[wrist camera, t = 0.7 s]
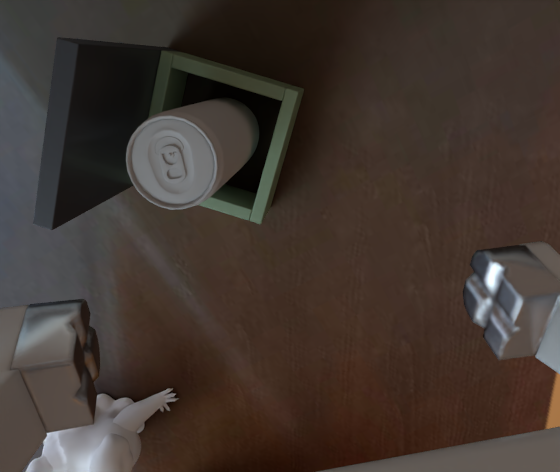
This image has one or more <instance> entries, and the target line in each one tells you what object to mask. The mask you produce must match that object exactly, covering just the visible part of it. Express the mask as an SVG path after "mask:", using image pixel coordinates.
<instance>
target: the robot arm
mask: <svg viewBox="0 0 560 472" xmlns="http://www.w3.org/2000/svg"><path fill="white" fill-rule="evenodd" d="M470 266H471V267H472V269H473V271H474V272H473V273H472V274H471V276H470V277H469V278H468V279H467V280H466V281H465V285H464V289H463V299H464V305H465V308H466V311H467V313H468V315H469V316H470V318H471V320H472V321H473V322H474V323H476V324H478V325H480V326H481V327H483V328H484V334H483V338H484V339H485V341H486V342H487V343H488V345H489V346H490V348H491V349H492V351H493V352H494V354H495V355H496V357H497V358H498V360H503V359H510V358H518V357H526V356H533V355H536V358H537V359H539V360H540V361H542V362H543V363H545V364H546V365H548V366H549V367H550V368H552V369H553V370H555V371H556V372H558V373H559V374H560V255H559V254H558V253H557V252H556V251H555V250H554V249H553V248H552V247H551V246H550V245H549V244H547V243H545V242H542V241H539V242H532V243H525V244H520V245H514V246H506V247H498V248H491V249H483V250H477V251H476V252H475V253H474V255H473V256H472V260H471V263H470ZM89 321H90V311H89V308H88V305H87V302H86V301H85V300H84V299H77V300H68V301H58V302H48V303H38V304H30V305H23V306H13V307H3V308H1V309H0V472H22V470H23V469H24V467H25V466H26V465H27V463H28V462H29V460H30V459H31V458H32V456H33V455H34V454H35V452H36V451H37V449H38V448H39V447H40V445H41V444H42V442H43V441H44V440H45V438H46V437H47V433H50V432H56V431H61V430H66V429H72V428H77V427H82V426H88V425H93V424H94V419H95V410H96V401H97V393H96V390H95V387H94V383H93V382H94V381H95V380H96V379H97V378H98V377H99V370H100V352H99V344H98V338H97V335H96V331H95V329H93V328H92V327H90V326H89ZM317 472H560V427H556V428H551V429H545V430H539V431H534V432H528V433H523V434H518V435H512V436H507V437H502V438H496V439H491V440H485V441H480V442H475V443H469V444H464V445H458V446H453V447H448V448H442V449H437V450H431V451H426V452H421V453H415V454H410V455H404V456H399V457H393V458H388V459H382V460H377V461H371V462H366V463H360V464H355V465H350V466H344V467H339V468H333V469H328V470H322V471H317Z"/></svg>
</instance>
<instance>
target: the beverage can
mask: <svg viewBox="0 0 560 472" xmlns="http://www.w3.org/2000/svg"><path fill="white" fill-rule="evenodd" d="M258 141H259V125H258V122H257V119H256V117H255V116H254V114H253V113H252V111H251V110H250V109H249V108H248V107H247V106H246V105H245V104H243V103H241V102H239V101H237V100H235V99H231V98H215V99H211V100H207V101H204V102H200V103H196V104H192V105H188V106H184V107H180V108H176V109H172V110H168V111H164V112H161V113H158V114H155V115H153V116H151V117H150V118H148V119H147V120H146V121H144V122H143V123H142V124H141V125H140V126H139V127H138V128H137V129H136V131H135V132H134V133H133V135H132V136H131V138H130V141H129V143H128V146H127V152H126V164H127V171H128V174H129V176H130V179H131V181H132V183H133V185H134V186H135V187H136V189H137V190H138V192H139V193H140V194H141V195H142V196H144V197H145V198H146V199H147V200H148V201H150V202H152V203H154V204H155V205H157V206H159V207H163V208H168V209H185V208H189V207H193V206H196V205H199V204H201V203H202V202H204V201H205V200H207V199H208V198H210V197H211V196H212V195H213V194H214V193H215V192H216V191H217V190H218V189H219V188H221V187H222V186H223V185H224V184H225V183H226V182H227V181H228V180H229V179H230V178H231V177H232V176H233V175H234V174H235V173H236V172H237V171H239V170H240V169H241V168H242V167H243V166H244V165H245V164H246V163H247V162H248V160H249V159H250V158H251V157H252V156H253V154H254V152H255V150H256V148H257V145H258Z"/></svg>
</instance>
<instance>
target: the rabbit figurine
mask: <svg viewBox="0 0 560 472" xmlns="http://www.w3.org/2000/svg"><path fill="white" fill-rule="evenodd" d="M171 390H173V388H172V389H170V388H168V389H166V390H164V391H162V392H160V393H157V394H155V395H152V396H150V397H148V398H146V399H144V400H141V401H138V402H136V403H134V402H133V401H132V400H131V399H130V398H126V397H125V398H120V399H118V400H114V399H112V398H111V397H110V396H108V395H107V394H99V395H97V401H96V410H95V419H94V424H93V425H88V426H82V427H77V428H72V429H66V430H61V431H56V432H50V433H47V437H46V438H45V440H44V441H43V443H44V448H43V452H42V456H41V457H40V458H36V459H34V460H33V461H32V462H31V463H30V464H29V466H28V468H27V470H26V472H131V471H132V468H133V465H134V464H135V463H136V461H137V460H138V458H139V456H140V452H141V441H140V438H139V435H138V433H140V432H141V431H142V430H143V429H144V426H145V424H144V422H145V421H146V420H147V419H148V418H149V417H150V416H151V415H152V414H154V413H155V412H156V411H157V410H158V409H159V408H160V411H162V412H163V410H164V408H163V406H164V407H165V408H166V410H169V409H170V408H169V407H168V405H167V404H166V403H167V402H171V401H176V400H178V399H179V398H175V397H174V396H175V395H176V393H175V394H174V393H170V394H167V393H169V392H170V391H171ZM165 394H166V395H165ZM170 397H173V398H170ZM169 411H170V410H169Z"/></svg>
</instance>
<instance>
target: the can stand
mask: <svg viewBox="0 0 560 472" xmlns="http://www.w3.org/2000/svg"><path fill="white" fill-rule="evenodd" d="M188 73H191V74H194V75H198V76H201V77H204V78H208V79H211V80H214V81H218V82H221V83H224V84H227V85H231V86H234V87H237V88H241V89H244V90H247V91H250V92H254V93H257V94H260V95H264V96H267V97H270V98H274V99H277V100H280V101H282V104H281V108H280V111H279V115H278V119H277V122H276V126H275V130H274V133H273V137H272V140H271V144H270V148H269V151H268V155H267V159H266V162H265V166H264V169H263V173H262V177H261V180H260V184H259V188H258V191H257V194H256V193H253V192H250V191H246V190H243V189H240V188H237V187H233V186H230V185H227V184H224V185H223V186H222V187H221V188H219V189H218V190H217V191H216V192H215V193H214V194H213V195H212V196H211V197H210V198H208V199H207V200H205V201H204V202H202V203H201V204H199V205H200V206H204V207H207V208H210V209H213V210H216V211H220V212H223V213H226V214H229V215H233V216H236V217H239V218H242V219H245V220H250V221H252V222H255V223H258V224H261V223H262V222H263V220H264V218H265V216H266V215H267V213H268V211H269V209H270V207H271V204H272V200H273V197H274V193H275V190H276V186H277V183H278V179H279V176H280V172H281V169H282V165H283V162H284V158H285V155H286V151H287V148H288V144H289V141H290V137H291V134H292V130H293V127H294V124H295V120H296V117H297V113H298V110H299V106H300V103H301V99H302V96H303V92H304V89H303V88H300V87H296V86H292V85H290V84H286V83H283V82H280V81H277V80H273V79H270V78H267V77H263V76H260V75H257V74H253V73H250V72H247V71H243V70H240V69H237V68H234V67H230V66H227V65H224V64H220V63H217V62H214V61H210V60H207V59H204V58H200V57H197V56H194V55H190V54H187V53H184V52H180V51H177V50H174V49H171V48H167V47H156V46H146V45H135V44H124V43H114V42H103V41H93V40H82V39H71V38H61V37H58V38H57V43H56V50H55V58H54V66H53V74H52V81H51V89H50V97H49V104H48V112H47V120H46V128H45V135H44V143H43V151H42V158H41V166H40V174H39V181H38V189H37V197H36V205H35V212H34V220H33V224H34V225H37V226H40V227H44V228H47V229H50V230H53V229H55V228H57V227H59V226H61V225H62V224H64V223H66V222H68V221H70V220H72V219H73V218H75V217H77V216H79V215H81V214H82V213H84V212H86V211H88V210H90V209H92V208H93V207H95V206H97V205H99V204H101V203H102V202H104V201H106V200H108V199H110V198H112V197H113V196H115V195H117V194H119V193H121V192H122V191H124V190H126V189H128V188H130V187H131V186H133V183H132V181H131V179H130V176H129V174H128V171H127V164H126V152H127V146H128V143H129V141H130V138H131V136H132V135H133V133H134V132H135V131H136V129H137V128H138V127H139V126H140V125H141V124H142V123H143V122H144V121H146V120H147V119H148V118H150V117H151V116H153V115H155V114H158V113H161V112H164V111H168V110H172V109H176V108H180V107H181V105H182V100H183V96H184V91H185V86H186V81H187V77H188Z"/></svg>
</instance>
